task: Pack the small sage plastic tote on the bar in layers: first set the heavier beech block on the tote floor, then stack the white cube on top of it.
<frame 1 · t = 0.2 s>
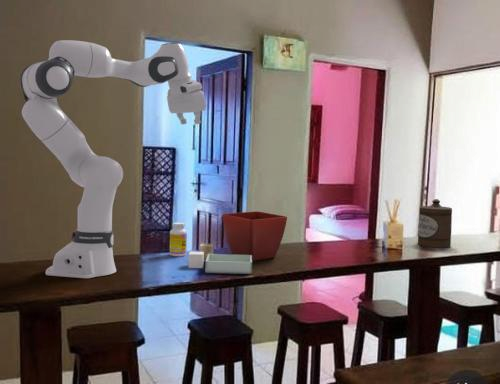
hand: (190, 123, 198), 52 cm above the table, tool tilted 20°, fingers open, 8 cm apart
white cube: (196, 266, 191), on the table
wooden container: (433, 245, 252), on the table
beech block: (206, 260, 202), on the table
tote: (229, 269, 188), on the table
plant pot: (253, 257, 211), on the table
supplement bottle: (177, 255, 210), on the table
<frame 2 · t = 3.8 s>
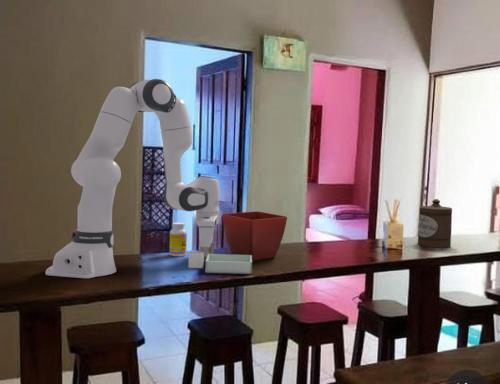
hand: (206, 254, 202), 2 cm above the table, tool pointing down, fingers closed on beech block, 5 cm apart
beech block: (206, 260, 202), on the table, touching gripper
everything else where it was.
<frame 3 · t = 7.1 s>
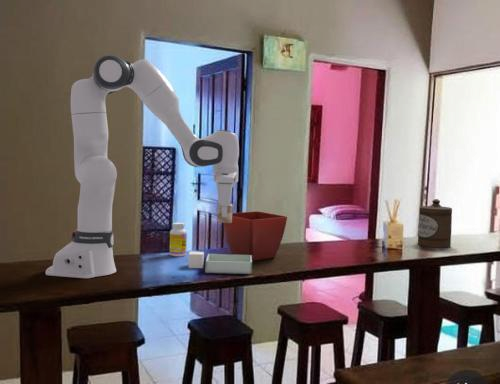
hand: (224, 215, 187), 19 cm above the table, tool pointing down, fingers closed on beech block, 5 cm apart
beech block: (224, 221, 187), point 17 cm above the table, touching gripper
everything else where it was.
when the fingers open (4 cm above the table, at t = 10.4 s): beech block drops 1 cm, resting on tote.
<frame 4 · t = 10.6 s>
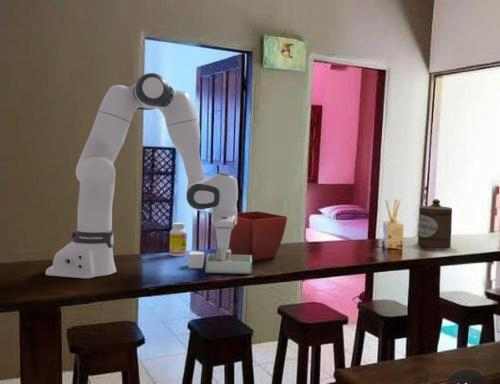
hand: (223, 257, 188), 4 cm above the table, tool pointing down, fingers open, 7 cm apart
beech block: (223, 267, 188), point 1 cm above the table, touching tote
everything else where it was.
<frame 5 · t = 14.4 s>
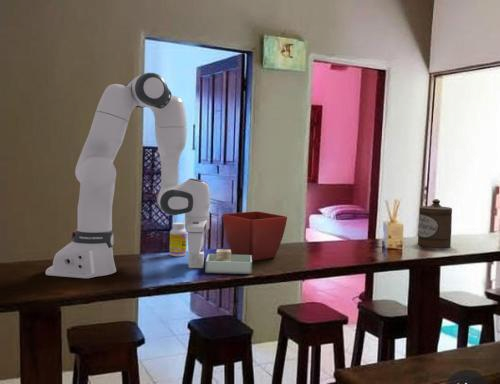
hand: (196, 261, 191), 2 cm above the table, tool pointing down, fingers closed on white cube, 5 cm apart
white cube: (196, 266, 191), on the table, touching gripper
everything else where it was.
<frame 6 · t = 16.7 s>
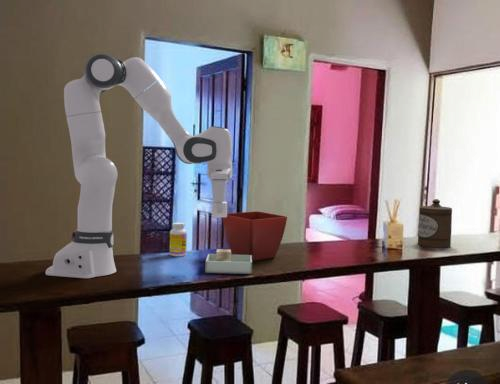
hand: (219, 211, 187), 20 cm above the table, tool pointing down, fingers closed on white cube, 5 cm apart
white cube: (219, 216, 188), point 19 cm above the table, touching gripper
everything else where it was.
when the fingers open (9 cm above the table, at t = 19.3 s): white cube stays where it is, resting on beech block.
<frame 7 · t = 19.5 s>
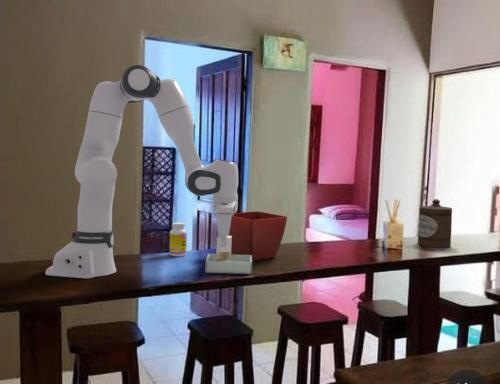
hand: (224, 244, 187), 9 cm above the table, tool pointing down, fingers open, 7 cm apart
white cube: (223, 250, 187), point 7 cm above the table, touching beech block
beech block: (223, 267, 188), point 1 cm above the table, touching white cube, tote
everything else where it was.
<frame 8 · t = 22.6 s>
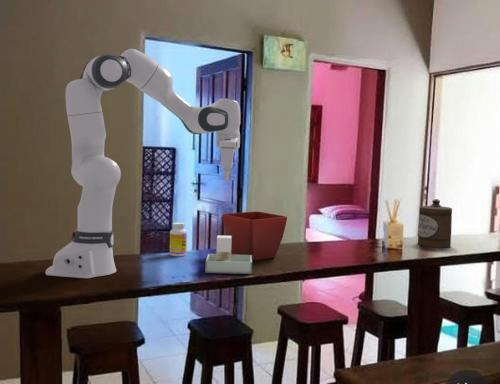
hand: (227, 179, 198), 31 cm above the table, tool pointing down, fingers open, 8 cm apart
nothing on the table moved.
at the end: beech block inside the target area on the tote (2.1 cm from its centre), point 0.6 cm above the tote's base; white cube 0.1 cm from the beech block (horizontally); white cube point 6.6 cm above the table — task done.
